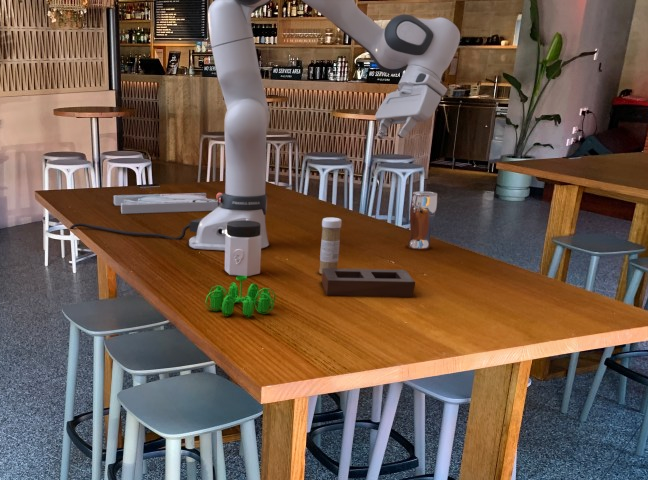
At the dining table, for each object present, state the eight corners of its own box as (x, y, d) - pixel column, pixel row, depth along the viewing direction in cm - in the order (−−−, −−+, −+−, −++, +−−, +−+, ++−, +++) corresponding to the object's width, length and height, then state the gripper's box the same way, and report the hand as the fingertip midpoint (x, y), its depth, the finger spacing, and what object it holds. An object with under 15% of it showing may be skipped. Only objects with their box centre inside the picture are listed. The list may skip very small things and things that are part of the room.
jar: (220, 274, 192) (221, 225, 187) (228, 267, 199) (230, 219, 195) (256, 277, 189) (258, 227, 185) (263, 269, 197) (265, 221, 192)
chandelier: (255, 324, 156) (256, 290, 154) (191, 312, 163) (191, 279, 161) (288, 306, 168) (290, 274, 165) (227, 295, 175) (227, 264, 173)
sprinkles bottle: (330, 270, 196) (334, 216, 191) (341, 275, 193) (345, 219, 188) (314, 272, 195) (318, 217, 189) (325, 276, 191) (329, 221, 186)
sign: (220, 210, 273) (206, 200, 291) (220, 201, 272) (206, 192, 290) (121, 213, 266) (113, 203, 284) (121, 204, 264) (113, 195, 282)
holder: (413, 297, 175) (415, 281, 174) (326, 295, 176) (328, 280, 174) (403, 284, 185) (404, 269, 184) (321, 282, 186) (322, 268, 184)
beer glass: (432, 251, 218) (439, 195, 212) (406, 249, 219) (412, 194, 213) (430, 245, 224) (437, 191, 218) (405, 244, 225) (411, 190, 219)
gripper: (385, 83, 201) (359, 132, 203) (432, 74, 183) (403, 128, 184) (403, 96, 204) (377, 145, 205) (451, 89, 185) (423, 142, 186)
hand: (390, 137), depth 194 cm, fingers open, 8 cm apart
